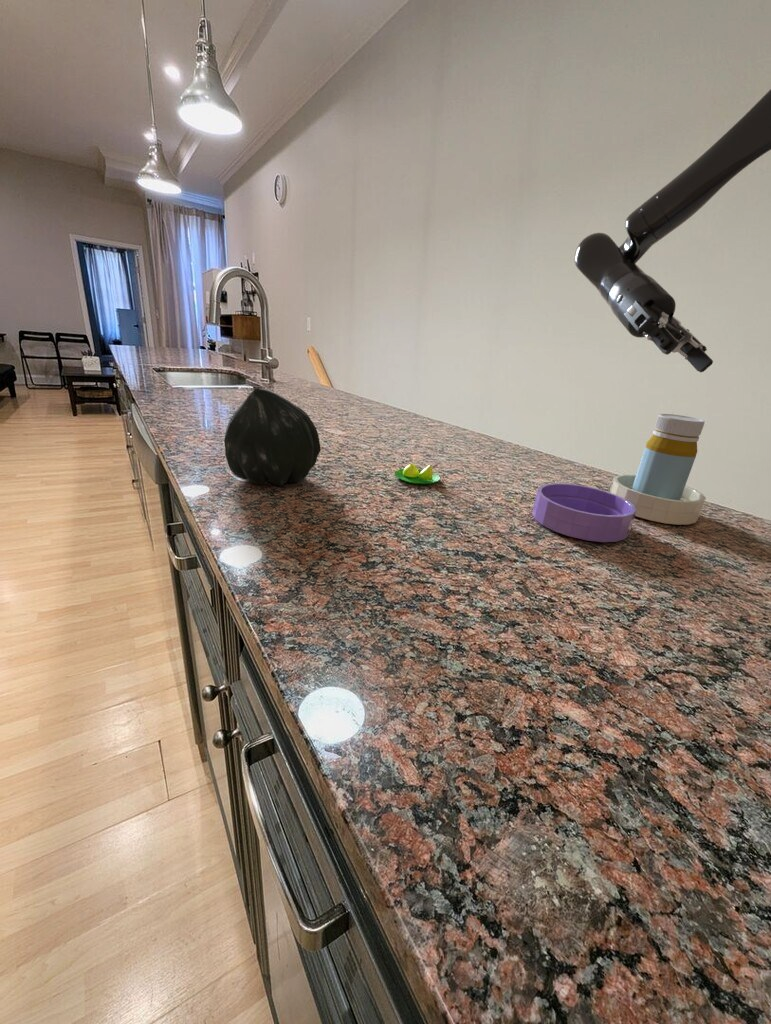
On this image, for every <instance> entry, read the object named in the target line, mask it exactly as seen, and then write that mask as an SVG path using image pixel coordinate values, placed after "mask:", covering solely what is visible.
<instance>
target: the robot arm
mask: <svg viewBox="0 0 771 1024" xmlns="http://www.w3.org/2000/svg"><path fill="white" fill-rule="evenodd" d="M769 151H771V88H770V89H769V90H768V91H767V92H766V93H765V94H764V95H763V96H762V97H761V98H760V99H759V100H758V101H757V102H756V103H755V104H754V105H753V106H752V107H751V108H750V110H748V111H747V112H746V113H745V115H743V116H742V117H741V118H740V119H739V120H738V121H737V122H736V123H735V124H733V126H732V127H731V128H730V129H728V130H727V131H726V133H724V134H723V135H722V136H721V137H720V138H718V140H717V141H716V142H715V143H713V144H712V145H711V146H710V147H709V148H708V149H707V150H706V151H704V153H703V154H701V155H699V157H698V158H697V159H695V161H693V162H692V163H691V164H690V165H689V166H687V168H685V169H684V170H683V171H681V172H680V173H679V174H678V175H677V176H675V177H674V178H673V179H672V180H671V181H669V182H668V183H666V184H665V186H663V187H662V188H661V189H659V190H658V191H657V192H656V193H654V194H653V195H652V196H651V197H649V198H648V199H646V201H644V202H643V203H641V205H639V206H638V207H637V208H636V209H634V211H632V212H631V213H630V214H629V215H628V216H627V217H626V219H625V221H624V227H625V230H626V234H627V237H626V239H625V240H624V241H623V243H622V244H621V245H620V246H618V245H617V243H616V242H615V240H613V238H612V237H611V236H610V235H609V234H607V233H605V232H594V233H591V234H589V235H587V236H585V238H583V239H582V240H581V241H580V243H578V245H577V247H576V250H575V252H574V258H573V260H574V265H575V267H576V269H577V270H578V271H579V272H580V273H581V274H582V275H583V277H585V278H586V280H588V282H589V283H590V284H591V285H592V286H593V287H594V288H596V290H597V292H598V293H599V294H600V296H601V297H602V299H603V300H604V301H605V303H606V304H607V305H608V307H610V309H611V312H612V314H614V316H615V317H616V318H617V319H618V321H619V322H620V323H621V324H622V326H623V327H624V328H625V330H626V331H627V332H628V333H629V334H630V335H631V336H633V337H634V338H639V339H640V338H646V339H647V340H648V341H651V342H652V343H653V344H654V345H655V346H656V347H657V348H658V349H659V351H661V353H662V354H664V355H666V356H667V355H669V354H671V353H673V354H674V353H678V354H680V355H681V356H682V357H683V358H684V360H687V361H688V363H690V365H691V366H692V367H693V368H694V369H695V370H696V371H697V372H699V373H704V372H705V371H707V369H708V368H710V366H712V365H713V363H714V360H713V359H712V358H711V357H710V356H709V355H708V354H707V353H706V351H708V349H707V346H706V345H704V344H703V343H702V342H701V341H700V340H699V339H697V338H696V336H694V334H693V333H692V332H691V331H690V329H688V328H686V327H684V326H683V325H682V322H681V321H680V320H679V319H677V318H676V317H675V316H674V314H675V312H676V300H675V299H674V297H673V296H672V295H671V294H670V293H669V292H668V291H667V290H666V289H664V287H662V286H661V284H659V283H658V281H656V280H655V278H653V277H652V276H650V275H649V274H647V273H645V271H643V269H642V268H641V267H640V266H639V265H637V263H638V262H639V261H640V259H642V258H643V257H644V255H645V254H646V253H647V252H648V251H649V250H650V249H651V248H652V247H653V246H654V245H655V244H657V243H658V242H660V241H661V240H663V239H664V238H665V237H667V236H668V235H669V234H671V233H672V232H674V230H676V229H677V228H679V227H681V225H683V224H684V223H686V222H687V221H688V220H689V219H690V218H692V217H693V216H694V215H695V214H696V213H697V212H698V211H700V209H702V208H703V207H704V206H705V205H706V204H707V203H708V202H709V201H710V200H711V199H712V198H714V197H715V195H716V194H717V193H718V192H719V191H720V190H721V189H722V188H724V187H725V186H726V184H728V183H729V182H730V181H731V180H732V179H733V178H734V177H736V176H737V175H738V174H739V173H741V172H742V171H743V170H744V169H745V168H746V167H748V166H750V165H751V164H753V162H755V161H756V160H758V159H759V158H760V157H762V156H763V155H765V154H766V153H768V152H769Z"/></svg>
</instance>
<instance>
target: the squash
mask: <svg viewBox="0 0 771 1024" xmlns="http://www.w3.org/2000/svg"><path fill="white" fill-rule="evenodd" d="M223 441H224V443H223V444H224V454H225V459H226V462H227V465H228V468H229V470H230V471H231V473H232V474H234V475H235V476H236V477H238V478H239V479H243V480H247V481H249V482H250V483H252V484H257V485H264V484H266V483H268V482H271V483H272V484H273V485H275V486H283V485H285V484H286V483H287V482H289V483H298V482H301V481H303V480H304V479H305V478H306V477H307V476H308V475H309V474H310V471H311V469H312V468H314V467H315V465H316V463H317V459H318V457H319V455H320V453H321V449H322V448H321V441H320V436H319V433H318V430H317V427H316V425H315V423H314V421H313V420H312V419H311V417H310V416H309V414H308V413H307V412H305V410H303V409H302V408H301V407H300V406H297V405H296V404H294V403H293V402H291V401H289V400H288V399H287V398H285V397H284V396H282V395H279V394H278V393H276V392H273V391H272V390H269V389H267V388H266V389H265V388H258V387H255V388H254V389H253V390H252V391H251V392H250V393H249V394H248V396H246V398H245V400H243V402H242V403H241V405H240V406H239V407H238V408H237V409H236V410H235V411H234V413H233V414H232V416H231V417H230V419H229V421H228V424H227V426H226V430H225V434H224V440H223Z"/></svg>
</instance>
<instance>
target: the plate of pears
mask: <svg viewBox="0 0 771 1024" xmlns="http://www.w3.org/2000/svg"><path fill="white" fill-rule="evenodd" d="M393 475H394V476H395V477H396V478H398V479H400V480H401V481H402V482H405V483H407V484H413V485H423V486H424V485H430V484H433V483H437V482H439V481H440V479H441V478H440V475H438V474H437V473H434V469H433V467H432V466H431V464H428V465H427V466H426V467H424V468H423V469H420V468H418V467H417V466H416V465H415V463H414V462H410V464H408V465H406V466H405V467H404V468H402V469H398V470H396V471H395V472H394V474H393Z"/></svg>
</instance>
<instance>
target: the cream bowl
mask: <svg viewBox="0 0 771 1024" xmlns="http://www.w3.org/2000/svg"><path fill="white" fill-rule="evenodd" d="M635 478H636V474H619V475H615V476H614V477H613V478H612V481H611V485H610V488H609V491H608V492H610V493H612V494H615V495H618V496H620V497H622V498H624V499H626V500H628V501H629V502H631V503H632V504H633V505H634V506H635V507H636V515H635V517H637V518H640V519H643V520H646V521H651V522H656V523H662V524H668V525H675V526H676V525H681V526H682V525H692V524H696V523H697V522H698V520H699V517H700V515H701V513H702V510H703V507H704V505H705V502H706V500H707V497H706V496H705V494H704V493H702V492H701V491H699V490H697V489H695V488H693V487H690V486H688V485H685V488H684V491H683V493H682V496H681V499H680V501H679V500H671V499H665V498H660V497H655V496H651V495H648V494H644V493H641V492H638V491H635V490H632V487H633V484H634V481H635Z"/></svg>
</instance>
